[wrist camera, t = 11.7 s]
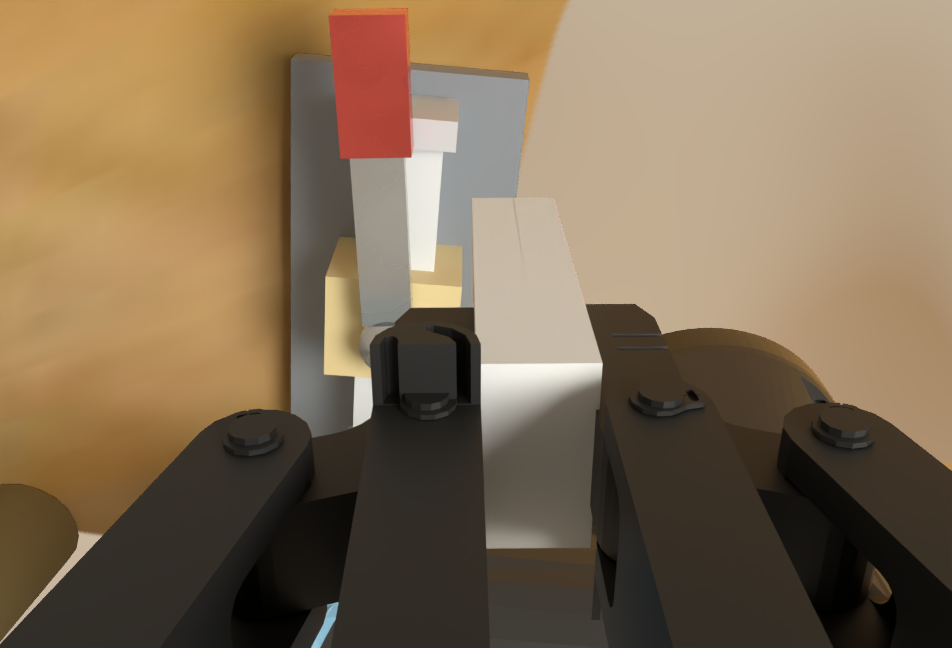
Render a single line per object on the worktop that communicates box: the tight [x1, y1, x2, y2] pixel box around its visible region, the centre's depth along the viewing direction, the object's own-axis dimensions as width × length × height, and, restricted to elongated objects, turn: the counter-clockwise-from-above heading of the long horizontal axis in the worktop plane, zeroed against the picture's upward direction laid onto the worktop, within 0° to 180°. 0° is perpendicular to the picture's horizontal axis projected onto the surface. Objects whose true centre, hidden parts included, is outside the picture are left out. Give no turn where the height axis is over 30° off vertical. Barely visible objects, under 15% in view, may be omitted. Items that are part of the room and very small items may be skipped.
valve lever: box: [329, 8, 414, 368], centre depth 35 cm, size 3×14×2 cm, turn 1°
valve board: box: [291, 53, 530, 438], centre depth 41 cm, size 20×10×6 cm, turn 175°
